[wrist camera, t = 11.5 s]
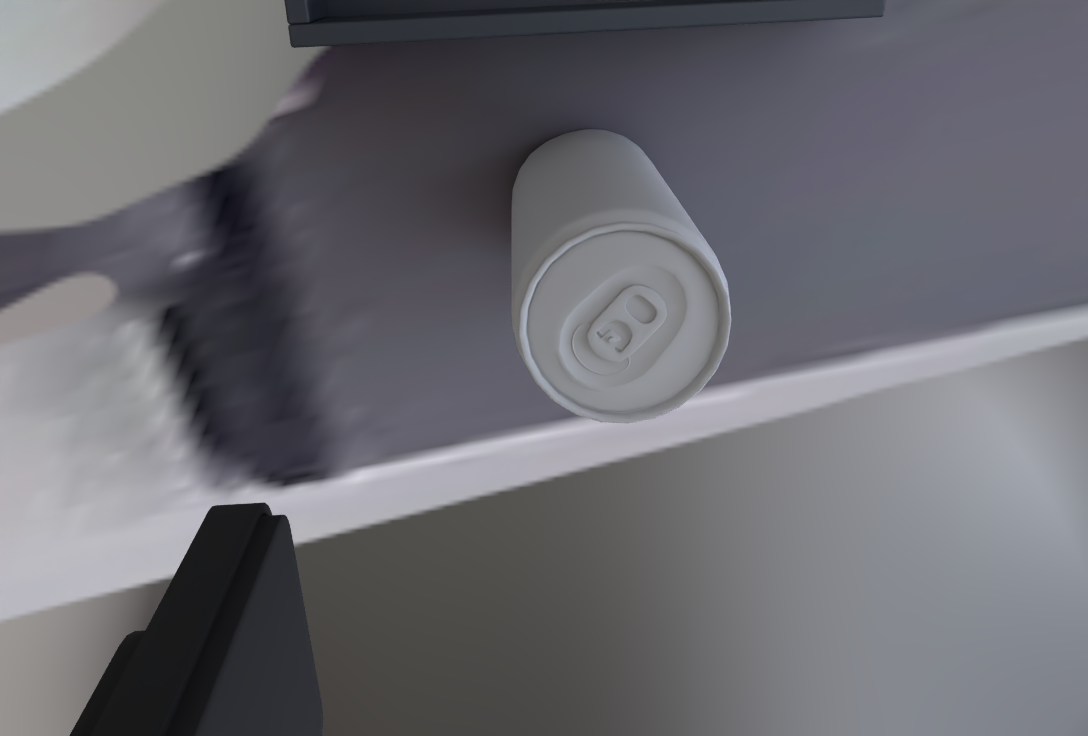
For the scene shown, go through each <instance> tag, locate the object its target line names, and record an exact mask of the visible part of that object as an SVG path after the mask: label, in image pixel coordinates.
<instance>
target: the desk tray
mask: <svg viewBox="0 0 1088 736" xmlns="http://www.w3.org/2000/svg"><path fill="white" fill-rule="evenodd" d="M285 7H286V14H287V21H288V23H289V24H290V25H289V35H290V43H291V46H292V47H294V48H295V47H315V46H335V45H354V44H373V43H392V42H411V41H430V40H450V39H469V38H488V37H507V36H526V35H546V34H565V33H584V32H603V31H622V30H642V29H661V28H680V27H699V26H718V25H738V24H757V23H776V22H795V21H814V20H833V19H853V18H872V17H882V16H884V11H885V0H285Z"/></svg>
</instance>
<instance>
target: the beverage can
mask: <svg viewBox="0 0 1088 736" xmlns="http://www.w3.org/2000/svg"><path fill="white" fill-rule="evenodd" d="M730 325H731V314H730V301H729V292H728V284H727V280H726V278H725V276H724V273H723V271H722V269H721V266H720V264H719V262H718V259H717V257H716V255H715V253H714V252H713V251H712V249H711V248H710V246H709V245H708V243H707V242H706V240H705V239H704V237H703V236H702V235H701V233H700V232H699V230H698V229H697V227H696V226H695V224H694V223H693V222H692V220H691V219H690V217H689V216H688V214H687V213H686V211H685V210H684V208H683V207H682V206H681V204H680V203H679V201H678V200H677V198H676V197H675V195H674V194H673V192H672V191H671V190H670V188H669V187H668V185H667V184H666V182H665V181H664V179H663V178H662V176H661V175H660V174H659V172H658V171H657V169H656V168H655V166H654V165H653V163H652V162H651V161H650V159H649V158H648V157H647V156H646V155H645V153H644V152H643V151H642V150H641V148H640V147H639V146H637V145H636V144H635V143H633V142H632V141H630V140H629V139H627V138H626V137H624V136H622V135H619V134H616V133H613V132H610V131H607V130H598V129H583V130H578V131H574V132H569V133H565V134H563V135H560V136H558V137H556V138H553V139H551V140H549V141H547V142H545V143H544V144H543V145H541V146H540V147H539V148H537V149H536V150H535V151H534V152H532V153H531V154H530V155H529V157H528V158H527V160H526V161H525V162H524V164H523V165H522V167H521V168H520V170H519V172H518V175H517V178H516V181H515V184H514V187H513V192H512V326H513V330H514V335H515V340H516V344H517V349H518V351H519V353H520V355H521V357H522V359H523V360H524V362H525V364H526V366H527V368H528V370H529V372H530V373H531V374H532V376H533V378H534V380H535V382H536V383H537V384H538V385H539V386H540V387H541V388H542V389H543V391H544V392H545V393H546V394H547V395H548V396H549V397H550V398H551V399H552V400H553V401H554V402H556V403H558V404H559V405H561V406H563V407H564V408H566V409H568V410H569V411H571V412H573V413H574V414H576V415H579V416H583V417H586V418H589V419H593V420H596V421H599V422H610V423H632V422H638V421H643V420H648V419H654V418H656V417H659V416H661V415H663V414H665V413H667V412H670V411H672V410H674V409H676V408H679V407H680V406H681V405H683V404H684V403H685V402H686V401H688V400H689V399H690V398H692V397H693V396H694V395H696V394H697V393H698V392H700V391H701V389H702V388H703V387H704V386H705V384H706V383H707V382H708V380H709V379H710V378H711V377H712V375H713V374H714V373H715V372H716V370H717V368H718V366H719V364H720V362H721V359H722V357H723V355H724V353H725V350H726V348H727V346H728V339H729V332H730Z"/></svg>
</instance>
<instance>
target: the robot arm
mask: <svg viewBox="0 0 1088 736" xmlns="http://www.w3.org/2000/svg"><path fill="white" fill-rule="evenodd" d="M322 727H323V712H322V703H321V698H320V692H319V686H318V680H317V675H316V670H315V664H314V658H313V652H312V647H311V641H310V635H309V630H308V625H307V619H306V614H305V607H304V602H303V596H302V591H301V585H300V580H299V574H298V568H297V562H296V557H295V551H294V545H293V540H292V534H291V529H290V524H289V521H288V519H287V517H286V516H285V515H272V513H271V510H270V508H269V506H268V505H267V504H266V503H251V504H234V505H216V506H212V507H211V509H210V510H209V511H208V513H207V515H206V517H205V519H204V521H203V522H202V524H201V526H200V528H199V530H198V532H197V534H196V536H195V538H194V540H193V541H192V543H191V545H190V547H189V549H188V551H187V553H186V555H185V557H184V559H183V560H182V562H181V564H180V566H179V568H178V570H177V572H176V574H175V576H174V578H173V579H172V582H171V583H170V585H169V587H168V589H167V591H166V593H165V595H164V597H163V599H162V600H161V602H160V604H159V606H158V608H157V610H156V612H155V614H154V615H153V617H152V619H151V621H150V623H149V625H148V627H147V629H146V631H135V632H132V633H131V634H129V635H127V636H126V638H125V639H124V640H123V641H122V643H121V644H120V645H119V647H118V649H117V651H116V653H115V654H114V656H113V658H112V660H111V662H110V663H109V665H108V667H107V669H106V671H105V673H104V674H103V676H102V678H101V680H100V681H99V683H98V685H97V687H96V689H95V691H94V692H93V694H92V696H91V698H90V700H89V701H88V703H87V705H86V707H85V709H84V711H83V712H82V714H81V716H80V718H79V720H78V721H77V723H76V725H75V727H74V729H73V730H72V732H71V734H70V736H322Z"/></svg>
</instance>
